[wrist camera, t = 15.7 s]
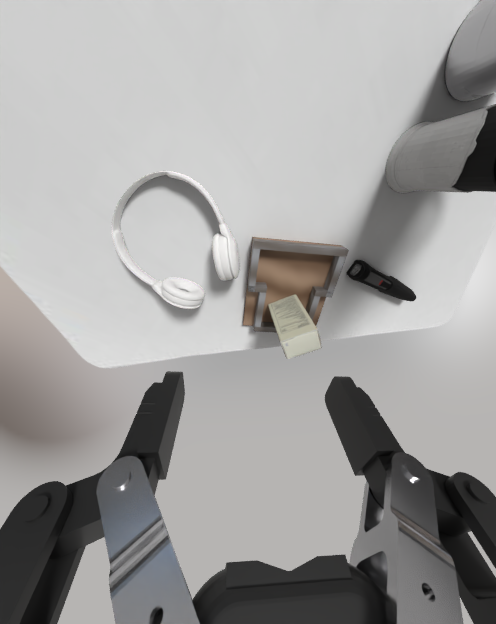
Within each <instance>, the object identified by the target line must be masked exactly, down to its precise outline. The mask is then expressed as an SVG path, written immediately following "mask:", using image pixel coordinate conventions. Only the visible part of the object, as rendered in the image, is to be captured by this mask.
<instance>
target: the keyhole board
mask: <svg viewBox="0 0 496 624" xmlns="http://www.w3.org/2000/svg"><path fill="white" fill-rule="evenodd" d="M347 253H348V249H346V248H344V247H343V246H341V245H331V244H320V243H310V242H299V241H289V240H278V239H268V238H257V237H252V246H251V255H250V265H249V274H248V283H247V292H246V301H245V310H244V319H243V325H251V326H254V331H260V332H277V331H276V328H275V325H274V322H273V319H272V316H271V313H270V309H269V306H268V304H271V303H273V302H276V301H278V300H281V299H284V298H286V297H289V296H292V295H297V297H298V299H299V300H300V302H301V303H302V305H303V307H304V308H305V310H306V311H307V313H308V315H309V316H310V318H311V319H312V321H313V323H314V324H315V326H316V325H317V322H318V319H319V316H320V313H321V310H322V307H323V304H324V301H325V299H326V297H332V295H333V292H334V289H335V286H336V284H337V281H338V278H339V275H340V272H341V270H342V267H343V264H344V261H345V259H346V256H347Z"/></svg>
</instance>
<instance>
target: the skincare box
mask: <svg viewBox="0 0 496 624" xmlns="http://www.w3.org/2000/svg"><path fill="white" fill-rule="evenodd" d="M268 306H269V309H270V313H271V316H272V319H273V322H274V325H275V328H276V331H277V334H278V337H279V340H280V343H281V346H282V349H283V351H284V354H285V356H286V358H287V359H291V358H294V357H297V356H301V355H303V354H306V353H310V352H313V351H315V350H318V349H321V348H322V346H321V341H320V335H319V331H318V329H317V328H316V326H315V324H314V323H313V321H312V319H311V318H310V316H309V315H308V313H307V311H306V310H305V308H304V307H303V305H302V303H301V302H300V300H299V299H298V297H297V295H292V296H289V297H286V298H284V299H281V300H278V301H276V302H273V303H271V304H268Z"/></svg>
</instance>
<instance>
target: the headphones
mask: <svg viewBox="0 0 496 624" xmlns="http://www.w3.org/2000/svg"><path fill="white" fill-rule="evenodd" d="M163 175H168V176H169V177H171V178H175V179H179V180H182V181H185V182H187V183H189V184H191V185H192V186H193V187H195V188H196V189H197V190H198V191H199V192H200V193H201V194H202V195H203V196H204V197H205V198H206V199H207V201H208V202H209V204H210V205H211V207H212V209H213V210H214V212H215V214H216V217H217V219H218V221H219V224H220V225H219V228H220V232H221V235H220V234H215V235H214V237H213V240H212V252H213V259H214V264H215V268H216V271H217V274H218V276H219V278H220V279H221V280H222V281H226V280H231V279H233V278H235V279H236V278H237V277H238V274H239V269H240V262H239V253H238V247H237V243H236V240H235V239H234V237H233V235H232V233H231V231H230V229H229V227H228V226H227V224H225V222H224V220H223V217H222V215H221V213H220V210H219V208H218V206H217V204H216V203H215V201H214V199H213V198H212V197H211V195H210V194H209V193H208V192H207V190H206V189H205V188H204V187H203V186H201V185H200V184H199V183H198V182H196V181H195V180H193V179H192V178H190V177H188V176H186V175H184V174H181V173H177V172H172V171H160V172H154V173H151V174H148V175H146V176H144V177H142V178H140V179H139V180H137V181H136V182H135V183H134V184H133V185H131V186H130V187H129V189H128V190H127V191H126V192H125V193H124V195H123V196H122V197H121V199H120V200H119V202H118V204H117V206H116V208H115V211H114V215H113V219H112V238H113V243H114V246H115V249H116V251H117V253H118V255H119V257H120V259H121V260H122V262H123V263H124V264H125V265H126V267H127V268H128V269H129V270H130V271H131V272H132V273H133V274H134V275H136V276H137V277H138V278H139V279H141V280H142V281H144V282H145V283H147V284H148V285H150V286H152V289H153V290H154V291H155V292H156V293H157V294H159V295H160V296H161V297H162V298H163V299H164V300H165V301H166V302H168V303H169V304H171V305H173V306H176V307H179V308H183V309H195V308H198V307H200V306H201V303H202V301H203V298H204V297H205V291H204V289H203V288H202V287H201V286H200V285H198V284H197V283H195V282H193V281H190V280H187V279H184V278H178V277H170V278H167V279H165V280H163V281H160V280H158V281H157V280H155V279H154V278H152V277H151V276H149V275H148V274H147V273H145V272H144V271H143V270H142V269H141V268H140V267H139V266H138V265H137V264H136V263H135V262H134V260H133V259H132V258H131V256H130V254H129V252H128V250H127V248H126V246H125V243H124V239H123V234H122V232H121V231H120V222H121V216H122V212H123V209H124V207H125V205H126V203H127V201H128V200H129V198H130V197H131V195H132V194H133V193H134V192H135V191H136V190H137V189H138V188H139V187H140V186H141V185H142V184H144V183H145V182H147V181H149V180H151V179H153V178H155V177H158V176H163Z"/></svg>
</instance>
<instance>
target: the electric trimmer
mask: <svg viewBox="0 0 496 624" xmlns="http://www.w3.org/2000/svg"><path fill="white" fill-rule="evenodd" d="M347 275H348V276H349V277H350V278H351V279H353V280H356V281H359V282H362V283H364V284H366V285H369V286H371V287H374V288H376V289H378V291H380V292H382V293H385V294H388V295H390V296H393V297H396V298H399V299H402V300H407V301H414V300H415V299H416V295H415V294H414V292H413V291H412V290H411V289H410V288H408V287H407V286H405V285H404V284H403V283H401V282H400V281H398V280H397V279H395V278H394V277H392V276H386V275H384V274H383V273H381V272H379V271H377V270H375V269H374V268H372V267H370V266H369V265H368V264H367V263H366V262H364V261H361V260H356V261H355V262H354V263H353V265H352V266H351V267H350V269H349V270H348V272H347Z"/></svg>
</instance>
